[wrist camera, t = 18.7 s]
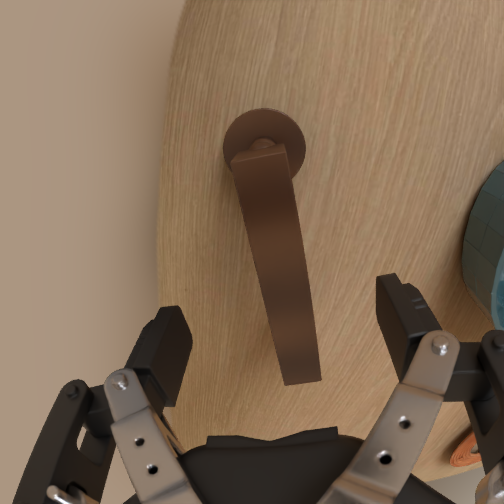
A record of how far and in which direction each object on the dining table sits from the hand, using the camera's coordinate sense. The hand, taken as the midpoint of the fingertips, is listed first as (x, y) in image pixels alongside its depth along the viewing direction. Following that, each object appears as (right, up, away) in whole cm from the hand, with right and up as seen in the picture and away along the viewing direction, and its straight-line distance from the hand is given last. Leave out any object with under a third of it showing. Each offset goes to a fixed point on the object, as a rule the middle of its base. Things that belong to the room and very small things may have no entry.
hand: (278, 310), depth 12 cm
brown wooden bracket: (+1, +5, +11) cm, 12 cm away
